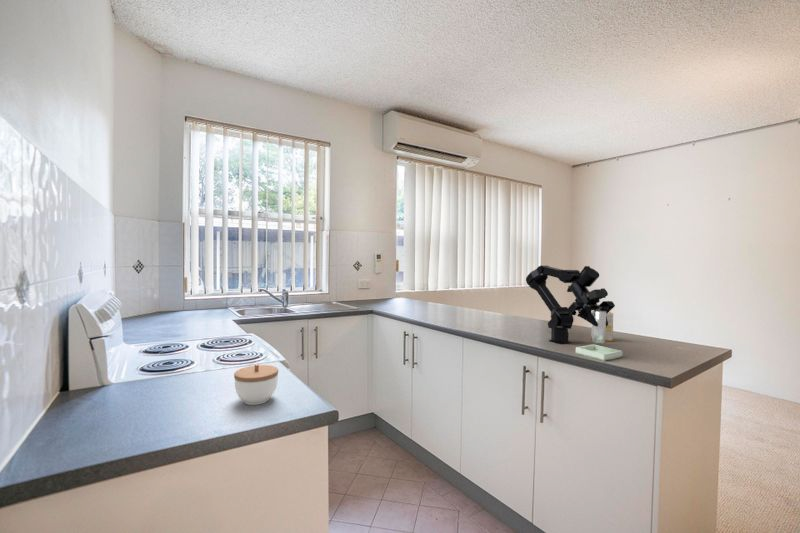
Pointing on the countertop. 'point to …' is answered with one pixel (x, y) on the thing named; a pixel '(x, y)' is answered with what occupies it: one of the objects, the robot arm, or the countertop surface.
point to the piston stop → (599, 326)
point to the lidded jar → (256, 383)
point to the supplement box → (608, 327)
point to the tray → (599, 352)
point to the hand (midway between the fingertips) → (602, 325)
